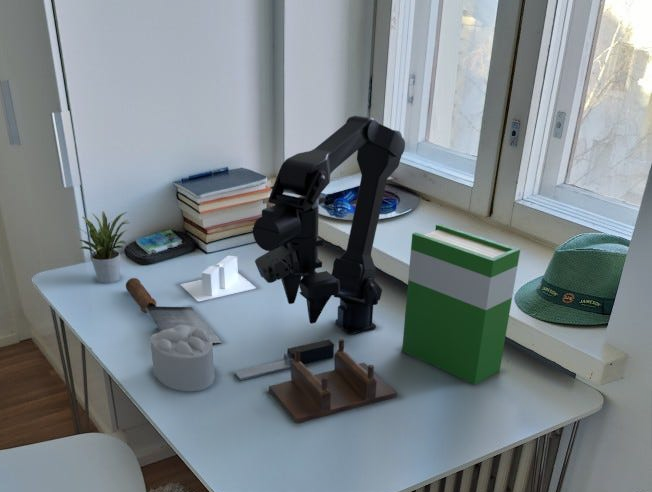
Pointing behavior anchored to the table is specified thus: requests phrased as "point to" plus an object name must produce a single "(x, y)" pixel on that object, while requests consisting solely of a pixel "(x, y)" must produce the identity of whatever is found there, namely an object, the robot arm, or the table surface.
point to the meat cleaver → (166, 311)
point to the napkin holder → (218, 281)
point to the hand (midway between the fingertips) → (301, 313)
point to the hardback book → (459, 301)
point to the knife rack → (330, 388)
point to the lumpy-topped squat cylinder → (183, 358)
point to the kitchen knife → (292, 359)
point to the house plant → (105, 249)
